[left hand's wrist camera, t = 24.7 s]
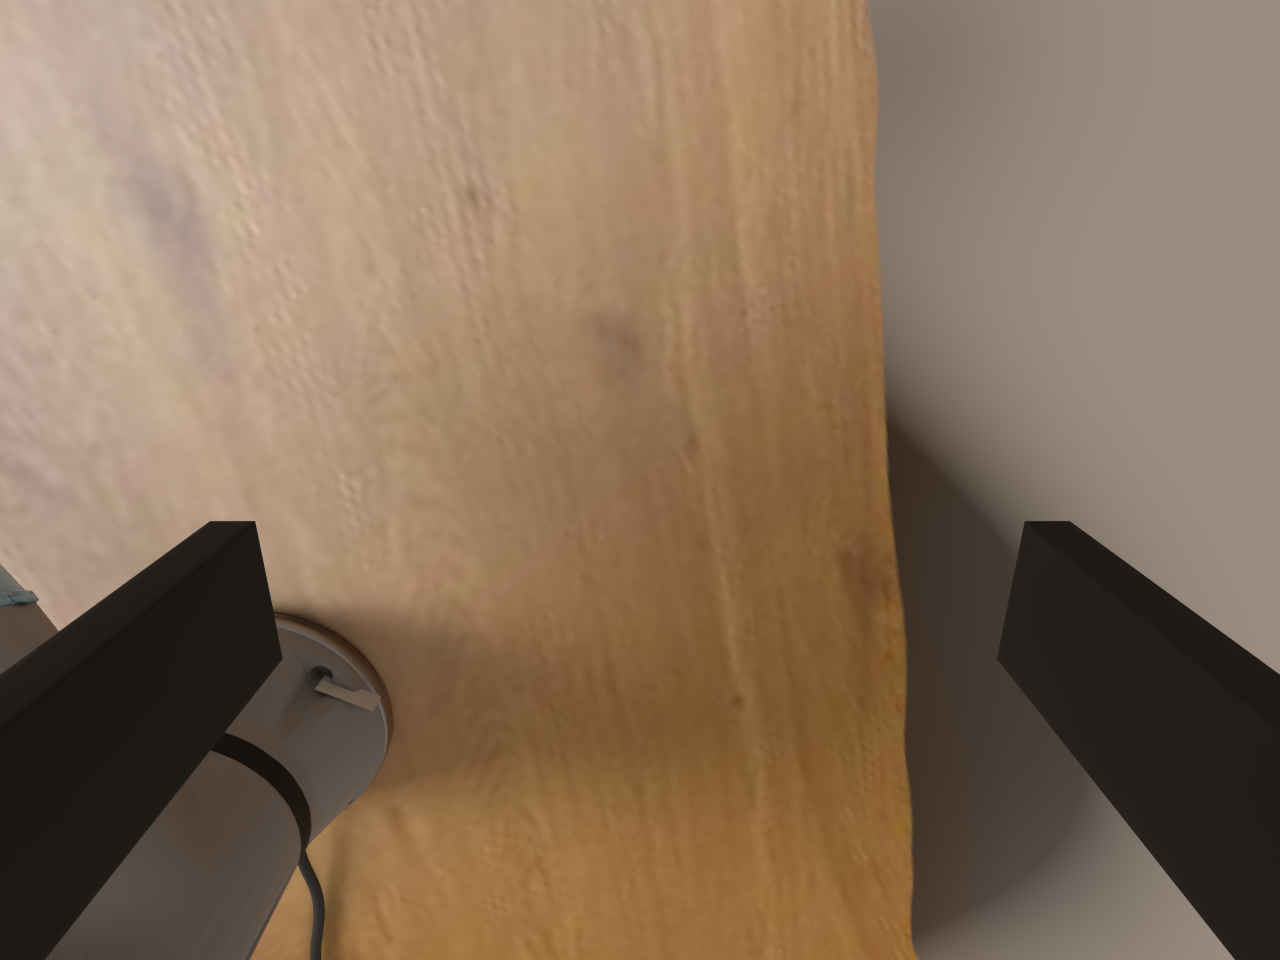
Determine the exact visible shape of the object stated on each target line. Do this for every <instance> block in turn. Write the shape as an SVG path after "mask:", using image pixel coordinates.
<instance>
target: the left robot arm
mask: <svg viewBox="0 0 1280 960" xmlns="http://www.w3.org/2000/svg"><path fill="white" fill-rule="evenodd" d="M38 600H39V599H38V598H37V597H36V595H35V594H34V593H33V592H32V591H29V590H24V588H23V587H22V586H21V585H20V584H19V583H18V582H17V581H16V580H15V579H14V578H13V577H12V576H11V575H10V574H9V573H8V572H7V571H6V570H5V569H4V568H3V566H2V565H1V564H0V960H250V958H251V956H252V954H253V952H254V950H255V948H256V946H257V944H258V942H259V940H260V938H261V936H262V934H263V932H264V930H265V928H266V926H267V925H268V923H269V921H270V919H271V917H272V915H273V913H274V911H275V909H276V907H277V905H278V903H279V901H280V899H281V897H282V895H283V893H284V891H285V889H286V887H287V885H288V883H289V881H290V879H291V877H292V875H293V873H294V871H295V869H296V867H297V865H298V866H299V868H300V871H301V873H302V875H303V877H304V879H305V881H306V883H307V885H308V887H309V890H310V893H311V896H312V901H313V908H314V922H313V932H312V940H311V952H310V958H311V960H321V944H322V935H323V928H324V918H325V907H324V898H323V893H322V889H321V886H320V884H319V881H318V879H317V877H316V875H315V873H314V870H313V868H312V866H311V864H310V862H309V859H308V857H307V854H306V851H305V850H306V848H307V846H308V845H309V844H310V843H311V842H312V841H313V840H314V839H315V838H316V837H317V836H318V835H319V834H320V833H321V832H322V831H323V830H324V829H325V828H326V827H327V826H328V825H329V824H330V823H331V822H332V821H333V820H334V819H335V818H336V817H337V816H338V815H339V814H340V813H341V812H342V811H343V810H344V809H345V808H346V807H347V806H349V805H350V804H351V803H352V802H354V801H355V800H356V799H357V798H358V797H359V796H360V795H361V794H362V793H363V792H364V791H365V789H366V788H367V787H368V785H369V784H370V783H371V781H372V780H373V779H374V777H375V775H376V774H377V772H378V770H379V768H380V766H381V764H382V762H383V760H384V758H385V755H386V753H387V751H388V749H389V745H390V742H391V738H392V731H393V717H392V709H391V704H390V701H389V698H388V695H387V692H386V690H385V688H384V685H383V683H382V682H381V680H380V678H379V676H378V675H377V673H376V672H375V671H374V669H373V668H372V666H371V665H370V664H369V663H368V662H367V661H366V659H365V658H364V657H363V656H362V655H361V654H360V653H359V652H358V651H357V650H355V649H354V648H353V647H352V646H351V645H349V644H348V643H347V642H345V641H344V640H343V639H341V638H340V637H338V636H337V635H335V634H333V633H332V632H330V631H328V630H326V629H324V628H322V627H320V626H318V625H316V624H313V623H311V622H308V621H305V620H303V619H299V618H296V617H292V616H288V615H283V614H277V613H274V612H273V607H272V602H271V597H270V592H269V587H268V582H267V577H266V573H265V568H264V563H263V558H262V553H261V548H260V543H259V538H258V533H257V528H256V523H255V521H210V522H208V523H207V524H206V525H204V526H203V527H202V528H200V529H199V530H198V531H196V532H195V533H193V534H192V535H191V536H189V537H188V538H187V539H185V540H184V541H182V542H181V543H180V544H178V545H177V546H176V547H174V548H173V549H172V550H170V551H169V552H167V553H166V554H165V555H163V556H162V557H161V558H159V559H158V560H156V561H155V562H154V563H152V564H151V565H150V566H148V567H147V568H146V569H144V570H143V571H141V572H140V573H139V574H137V575H136V576H135V577H133V578H132V579H130V580H129V581H128V582H126V583H125V584H124V585H122V586H121V587H120V588H118V589H117V590H115V591H114V592H113V593H111V594H110V595H109V596H107V597H106V598H104V599H103V600H102V601H100V602H99V603H98V604H96V605H95V606H94V607H92V608H91V609H89V610H88V611H87V612H85V613H84V614H83V615H81V616H80V617H78V618H77V619H76V620H74V621H73V622H72V623H70V624H69V625H68V626H66V627H65V628H63V629H62V630H61V631H58V630H57V628H56V627H55V626H54V625H53V623H52V622H51V621H50V620H49V618H48V617H47V616H46V615H45V613H44V612H43V611H42V610H41V608H40V607H39V606H38V604H37V603H36V602H37V601H38ZM997 659H998V661H999V662H1000V663H1001V664H1002V666H1003V667H1004V668H1005V669H1006V671H1007V672H1008V673H1009V674H1010V676H1011V677H1012V678H1013V680H1014V681H1015V682H1016V683H1017V685H1018V686H1019V687H1020V688H1021V690H1022V691H1023V692H1024V693H1025V695H1026V696H1027V697H1028V698H1029V700H1030V701H1031V702H1032V704H1033V705H1034V706H1035V707H1036V709H1037V710H1038V711H1039V712H1040V714H1041V715H1042V716H1043V717H1044V719H1045V720H1046V721H1047V723H1048V724H1049V725H1050V726H1051V728H1052V729H1053V730H1054V731H1055V733H1056V734H1057V735H1058V736H1059V738H1060V739H1061V740H1062V741H1063V743H1064V744H1065V745H1066V746H1067V748H1068V749H1069V750H1070V752H1071V753H1072V754H1073V755H1074V757H1075V758H1076V759H1077V760H1078V762H1079V763H1080V764H1081V766H1082V767H1083V768H1084V769H1085V771H1086V772H1087V773H1088V774H1089V776H1090V777H1091V778H1092V779H1093V781H1094V782H1095V783H1096V784H1097V786H1098V787H1099V788H1100V789H1101V791H1102V792H1103V793H1104V795H1105V796H1106V797H1107V798H1108V800H1109V801H1110V802H1111V803H1112V805H1113V806H1114V807H1115V809H1116V810H1117V811H1118V812H1119V814H1120V815H1121V816H1122V817H1123V819H1124V820H1125V821H1126V822H1127V824H1128V825H1129V826H1130V827H1131V829H1132V830H1133V831H1134V833H1135V834H1136V835H1137V836H1138V838H1139V839H1140V840H1141V841H1142V843H1143V844H1144V845H1145V846H1146V848H1147V849H1148V850H1149V852H1150V853H1151V854H1152V855H1153V857H1154V858H1155V859H1156V860H1157V862H1158V863H1159V864H1160V865H1161V867H1162V868H1163V869H1164V870H1165V872H1166V873H1167V874H1168V876H1169V877H1170V878H1171V879H1172V881H1173V882H1174V883H1175V884H1176V886H1177V887H1178V888H1179V889H1180V891H1181V892H1182V893H1183V894H1184V896H1185V897H1186V898H1187V900H1188V901H1189V902H1190V903H1191V905H1192V906H1193V907H1194V908H1195V910H1196V911H1197V912H1198V913H1199V915H1200V916H1201V917H1202V919H1203V920H1204V921H1205V922H1206V924H1207V925H1208V926H1209V927H1210V929H1211V930H1212V931H1213V932H1214V934H1215V935H1216V936H1217V937H1218V939H1219V940H1220V941H1221V943H1222V944H1223V945H1224V946H1225V948H1226V949H1227V950H1228V951H1229V953H1230V954H1231V955H1232V956H1233V958H1234V959H1235V960H1280V674H1278V673H1277V672H1275V671H1274V670H1273V669H1271V668H1270V667H1269V666H1267V665H1266V664H1264V663H1263V662H1262V661H1260V660H1259V659H1258V658H1256V657H1255V656H1254V655H1252V654H1251V653H1249V652H1248V651H1247V650H1245V649H1244V648H1243V647H1241V646H1240V645H1238V644H1237V643H1236V642H1234V641H1233V640H1232V639H1230V638H1229V637H1228V636H1226V635H1225V634H1223V633H1222V632H1221V631H1219V630H1218V629H1217V628H1215V627H1214V626H1212V625H1211V624H1210V623H1208V622H1207V621H1206V620H1204V619H1203V618H1202V617H1200V616H1199V615H1197V614H1196V613H1195V612H1193V611H1192V610H1191V609H1189V608H1188V607H1186V606H1185V605H1184V604H1182V603H1181V602H1180V601H1178V600H1177V599H1176V598H1174V597H1173V596H1171V595H1170V594H1169V593H1167V592H1166V591H1165V590H1163V589H1162V588H1160V587H1159V586H1158V585H1156V584H1155V583H1154V582H1152V581H1151V580H1150V579H1148V578H1147V577H1145V576H1144V575H1143V574H1141V573H1140V572H1139V571H1137V570H1136V569H1134V568H1133V567H1132V566H1130V565H1129V564H1128V563H1126V562H1125V561H1124V560H1122V559H1121V558H1119V557H1118V556H1117V555H1115V554H1114V553H1113V552H1111V551H1110V550H1108V549H1107V548H1106V547H1104V546H1103V545H1101V544H1100V543H1099V542H1097V541H1096V540H1095V539H1093V538H1092V537H1091V536H1089V535H1088V534H1087V533H1085V532H1084V531H1082V530H1081V529H1080V528H1078V527H1077V526H1076V525H1074V524H1073V523H1072V522H1070V521H1025V523H1024V528H1023V533H1022V538H1021V543H1020V548H1019V553H1018V558H1017V563H1016V568H1015V573H1014V578H1013V582H1012V588H1011V592H1010V597H1009V602H1008V607H1007V612H1006V617H1005V622H1004V627H1003V632H1002V637H1001V642H1000V647H999V652H998V656H997Z"/></svg>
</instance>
